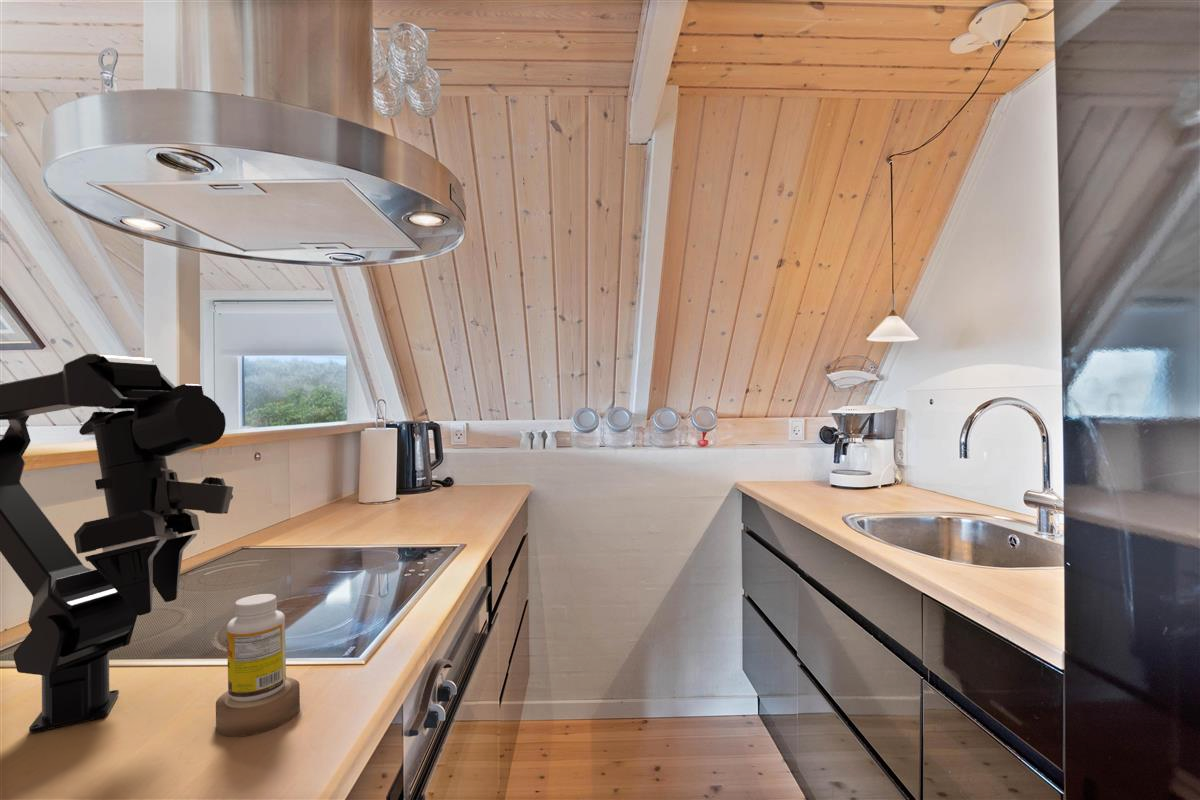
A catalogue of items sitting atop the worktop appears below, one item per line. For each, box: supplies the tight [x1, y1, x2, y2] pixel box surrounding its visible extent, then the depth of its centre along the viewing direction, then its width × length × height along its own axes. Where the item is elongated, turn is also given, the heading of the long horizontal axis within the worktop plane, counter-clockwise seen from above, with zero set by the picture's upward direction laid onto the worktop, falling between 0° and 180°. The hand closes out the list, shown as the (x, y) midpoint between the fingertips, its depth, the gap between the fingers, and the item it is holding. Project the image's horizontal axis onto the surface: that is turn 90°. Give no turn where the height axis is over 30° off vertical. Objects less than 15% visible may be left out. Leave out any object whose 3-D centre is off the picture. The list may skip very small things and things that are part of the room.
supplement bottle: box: [226, 593, 287, 702], centre depth 65 cm, size 6×6×10 cm
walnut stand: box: [215, 676, 301, 737], centre depth 65 cm, size 8×8×3 cm
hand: (159, 607), depth 63 cm, fingers open, 9 cm apart
